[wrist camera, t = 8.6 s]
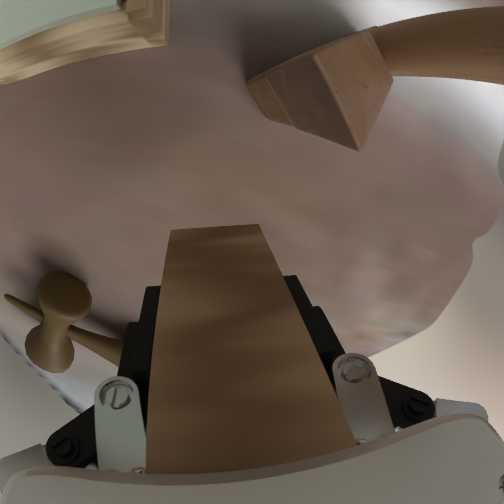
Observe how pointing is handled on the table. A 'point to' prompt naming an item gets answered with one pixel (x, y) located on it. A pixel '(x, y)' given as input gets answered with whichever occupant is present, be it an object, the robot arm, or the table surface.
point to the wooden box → (88, 39)
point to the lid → (44, 15)
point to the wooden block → (378, 71)
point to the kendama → (62, 324)
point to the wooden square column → (234, 362)
